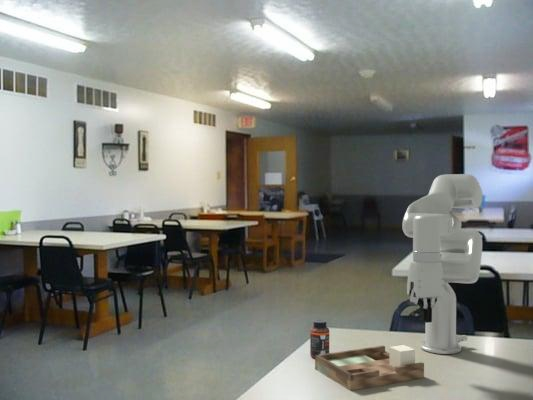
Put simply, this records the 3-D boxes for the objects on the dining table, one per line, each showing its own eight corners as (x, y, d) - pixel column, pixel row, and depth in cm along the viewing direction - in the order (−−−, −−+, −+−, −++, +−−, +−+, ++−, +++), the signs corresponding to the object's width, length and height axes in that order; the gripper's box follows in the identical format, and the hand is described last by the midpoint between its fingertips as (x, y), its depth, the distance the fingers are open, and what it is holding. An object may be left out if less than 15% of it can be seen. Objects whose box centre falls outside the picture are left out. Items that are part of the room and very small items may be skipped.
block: (403, 362, 161) (403, 344, 161) (415, 367, 157) (415, 349, 157) (389, 364, 159) (389, 346, 159) (400, 369, 155) (400, 351, 155)
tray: (383, 358, 173) (383, 345, 173) (423, 377, 156) (424, 363, 155) (315, 368, 163) (315, 355, 163) (350, 390, 146) (350, 375, 146)
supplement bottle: (328, 360, 171) (328, 323, 171) (309, 359, 172) (309, 322, 172) (330, 354, 177) (330, 319, 177) (311, 353, 178) (311, 318, 178)
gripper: (437, 255, 167) (437, 316, 167) (397, 257, 161) (396, 321, 161) (455, 258, 160) (455, 322, 160) (413, 260, 154) (413, 326, 154)
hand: (425, 321), depth 161 cm, fingers closed
